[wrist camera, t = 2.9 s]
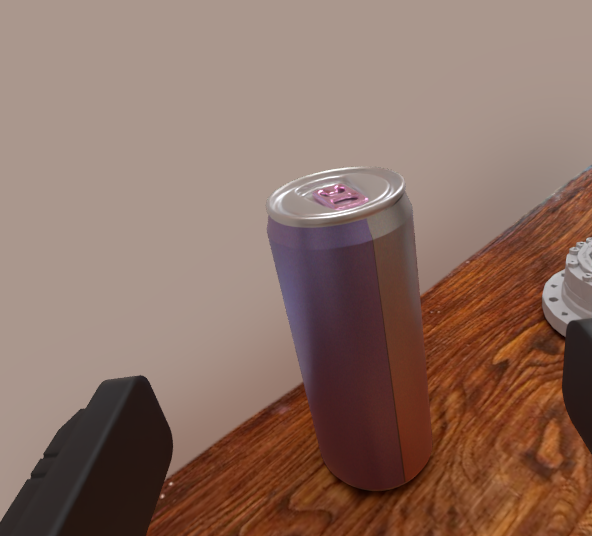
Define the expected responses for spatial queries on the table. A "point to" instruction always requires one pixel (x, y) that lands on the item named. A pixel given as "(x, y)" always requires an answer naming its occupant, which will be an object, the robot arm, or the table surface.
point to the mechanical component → (570, 289)
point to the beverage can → (356, 319)
